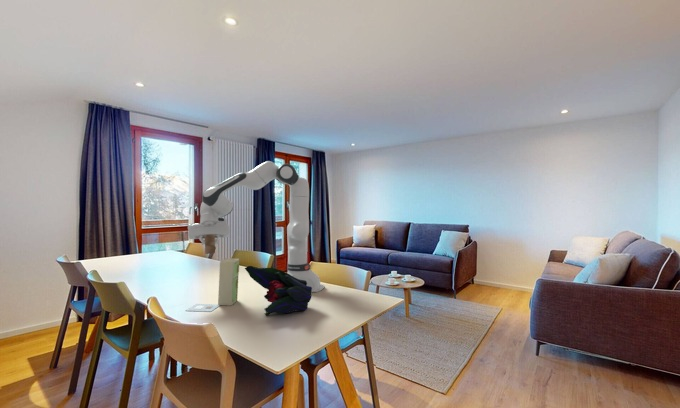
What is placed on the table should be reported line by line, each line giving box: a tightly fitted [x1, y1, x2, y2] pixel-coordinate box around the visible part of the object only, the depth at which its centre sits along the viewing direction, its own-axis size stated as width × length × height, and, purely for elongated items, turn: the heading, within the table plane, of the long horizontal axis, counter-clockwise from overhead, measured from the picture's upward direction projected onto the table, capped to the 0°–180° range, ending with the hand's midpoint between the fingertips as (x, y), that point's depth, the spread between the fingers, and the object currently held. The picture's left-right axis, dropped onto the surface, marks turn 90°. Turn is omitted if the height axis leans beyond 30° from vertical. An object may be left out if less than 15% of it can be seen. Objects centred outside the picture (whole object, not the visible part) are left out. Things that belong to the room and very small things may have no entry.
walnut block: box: [204, 235, 216, 255], centre depth 152 cm, size 4×4×9 cm
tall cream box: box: [217, 257, 240, 306], centre depth 145 cm, size 8×7×21 cm
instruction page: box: [185, 303, 221, 313], centre depth 138 cm, size 12×9×1 cm
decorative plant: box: [244, 265, 313, 316], centre depth 134 cm, size 21×26×30 cm
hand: (209, 243), depth 152 cm, fingers closed on walnut block, 4 cm apart
